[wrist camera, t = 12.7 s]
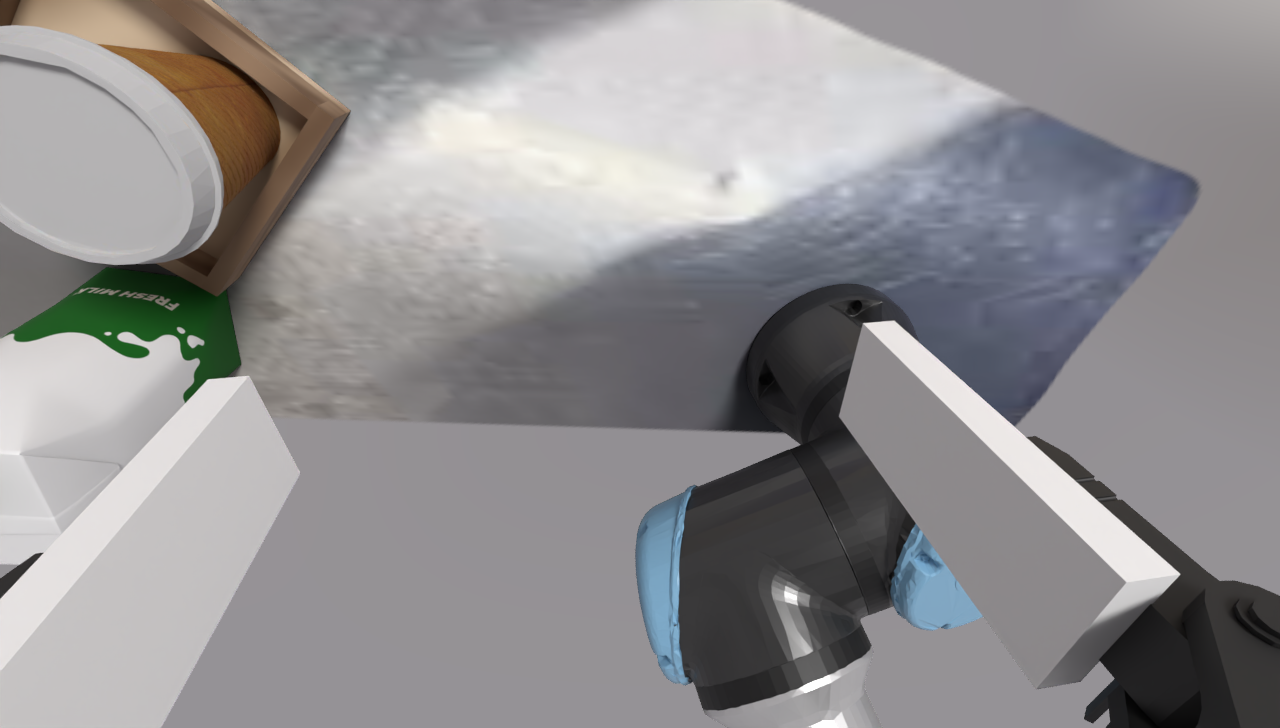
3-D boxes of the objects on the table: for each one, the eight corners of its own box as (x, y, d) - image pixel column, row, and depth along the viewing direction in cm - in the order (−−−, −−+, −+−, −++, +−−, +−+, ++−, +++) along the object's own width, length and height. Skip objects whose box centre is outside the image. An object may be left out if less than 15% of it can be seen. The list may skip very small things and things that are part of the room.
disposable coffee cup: (188, 208, 33) (38, 291, 24) (78, 34, 28) (-177, 47, 18) (338, 184, 34) (252, 255, 24) (259, 7, 28) (105, 7, 19)
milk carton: (237, 272, 37) (-11, 481, 20) (257, 376, 42) (68, 614, 25) (85, 251, 35) (-328, 467, 18) (124, 363, 39) (-178, 615, 23)
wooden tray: (350, 110, 32) (334, 119, 30) (238, 277, 37) (217, 296, 35) (50, -128, 25) (-4, -142, 23) (-42, 117, 30) (-95, 127, 27)
